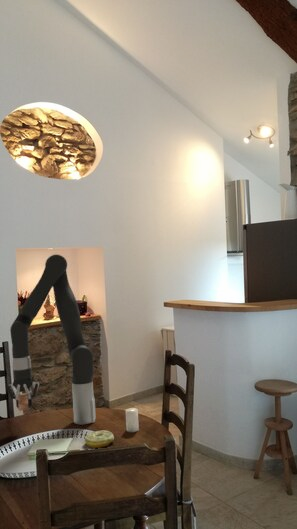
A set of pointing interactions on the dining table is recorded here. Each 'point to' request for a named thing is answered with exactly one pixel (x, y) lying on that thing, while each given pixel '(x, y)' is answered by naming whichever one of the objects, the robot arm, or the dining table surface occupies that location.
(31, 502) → the dining table surface
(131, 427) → the white rounded cylinder
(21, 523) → the dining table surface
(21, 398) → the terracotta block
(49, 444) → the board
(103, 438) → the decorated donut
